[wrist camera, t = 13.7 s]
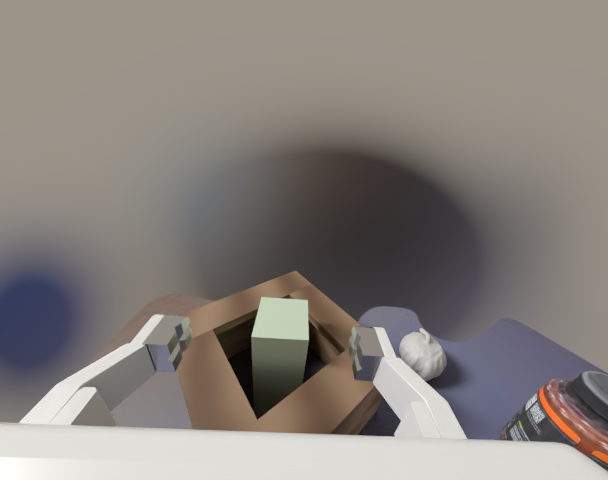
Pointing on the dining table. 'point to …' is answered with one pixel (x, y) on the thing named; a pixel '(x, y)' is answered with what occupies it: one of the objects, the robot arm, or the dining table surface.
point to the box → (300, 403)
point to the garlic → (423, 354)
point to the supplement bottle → (567, 416)
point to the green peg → (278, 350)
